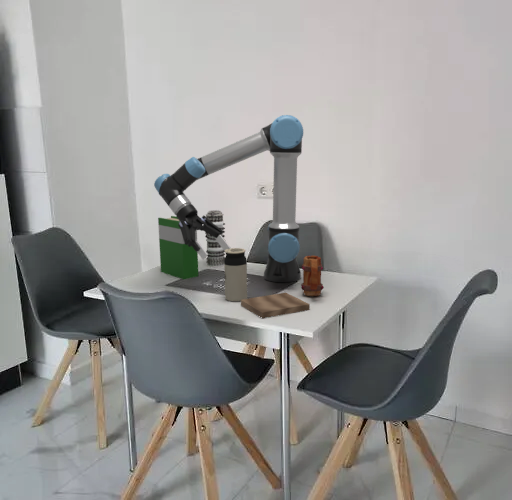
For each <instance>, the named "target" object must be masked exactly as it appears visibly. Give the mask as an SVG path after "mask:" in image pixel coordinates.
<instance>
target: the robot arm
mask: <svg viewBox="0 0 512 500" xmlns="http://www.w3.org/2000/svg"><path fill="white" fill-rule="evenodd" d="M303 137H304V127H303V124H302V122H301V121H300V120H299V119H298V118H297V117H295V116H294V115H290V114H284V115H280V116H277V117H276V118H275V119H274V120H273V122H272V123H269V124H268V125H265V126H264V127H262V128H261V129H260V131H259V132H257V133H254V134H252V135H250V136H247V137H245V138H243V139H240V140H239V141H236V142H234V143H231V144H229V145H227V146H224V147H222V148H219V149H217V150H215V151H213V152H210V153H207V154H205V155H203V156H202V157H199V158H197V157H195V156H192V157H190V158H189V159H188V160H186V161H185V162H184V163H183V164H182V165H181V166H180V167H179V168H178V169H177V170H175V172H174V173H172V174H169V173H163V174H161V176H158V177H157V178H156V179H155V181H154V183H153V184H154V186H153V187H154V188H155V190H156V191H157V193H158V195H159V196H160V197H161V199H162V200H163V201H164V202H165V204H166V205H167V206H168V207H169V209H170V210H171V211H172V213H173V214H174V215H175V216H176V217H177V218H178V219H179V221H180V223H179V224H178V226H179V227H180V229H181V232H182V236H183V239H184V243H185V244H186V245H188V246H189V247H191V246H192V247H193V248H194V249H195V251H196V252H197V253H198V256H199V257H200V258H201V259H202V260H205V259H206V258H207V257H208V256H207V255H208V254H207V252H206V251H207V250H205V248H204V247H203V246H202V244H201V243H200V242H199V240H197V241H196V242H195V231H196V230H197V231H201V232H202V231H203V232H204V233H205V232H206V233H208V234H210V235H212V236H214V237H215V238H216V241H217V242H218V243H219V245H220V246H221V247H222V249H223V250H224V251H225V250H226V249H230V248H231V246H230V245H229V243H228V242H227V241H226V239H225V237H224V238H223V237H222V233H223V231H224V230H223V231H222V230H221V229H220V228H219V227H217V226H216V225H215V224H213V223H212V222H211V221H209V220H208V219H207V218H206V215H205V214H204V215H202V216H201V217H200V216H199V215H198V214H199V213H198V210H197V208H196V207H195V206H194V204H192V202H191V201H190V199H189V198H188V197H187V195H186V194H185V192H184V191H186V190H187V189H188V188H189V187H191V185H193V184H194V183H195V182H197V181H198V180H200V179H203V178H205V177H207V176H209V175H211V174H214V173H217V172H219V171H221V170H223V169H226V168H228V167H231V166H233V165H235V164H237V163H240V162H242V161H245V160H247V159H249V158H252V157H254V156H257V155H260V154H262V153H264V152H266V151H269V153H270V155H272V157H273V186H272V187H273V189H272V190H273V192H272V195H273V196H272V222H270V223H269V224H268V226H267V243H268V244H267V262H266V266H265V270H264V273H263V274H264V275H263V278H264V280H266V281H268V282H273V283H292V282H297V281H299V280H301V278H302V277H301V275H302V273H301V269H300V266H299V262H298V260H297V256H298V255H299V253H300V250H301V245H300V225H299V224H298V223H297V222H296V219H297V218H296V216H297V215H296V214H297V213H296V212H297V209H296V208H297V183H298V182H297V180H298V179H297V175H298V173H297V172H298V157H299V156H300V155H302V149H303V148H302V146H303V145H302V144H303ZM223 234H224V233H223Z"/></svg>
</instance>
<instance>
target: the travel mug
mask: <svg viewBox="0 0 512 500" xmlns="http://www.w3.org/2000/svg"><path fill="white" fill-rule="evenodd" d="M246 251H247V249H245V248H241V247H233V248H230V249H226V250H225V252H224V254H225V256H224V257H225V259H224V266H223V267H224V296H225V300H226V301H228V302H235V303H236V302H241V300H243V299H248V272H247V271H248V269H247V267H248V265H247V263H248V262H247V260H248V259H247V257H246V256H245V254H246Z"/></svg>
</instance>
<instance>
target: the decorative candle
mask: <svg viewBox="0 0 512 500" xmlns="http://www.w3.org/2000/svg"><path fill="white" fill-rule="evenodd" d="M205 216H206V218H207V219H208V220H209V221H211V222H212V223H213V224H215V225H216V226H217V227H219V228H220V229H221V230H222V231H223V233H222V237H223V238H224V239H225V237H226V236H225V235H224V234H225V232H226V231H225V229H226V227H224V226H225V225H226V223H224V217H223V216H224V213H223V212H222V211H221V210H217V209H216V210H208V211H207V213H206V214H205ZM204 233H205V236H204V237H205V238H206V239H205V241H206V250H205V251H206V252H207V254H208V255H207V257H206V258H205V259H206V267H208V268H223V267H224V259H225V257H226V253H225V251H224V250H223V249H222V247H221V246H220V245H219V243H218V242H217V241H216V238H215V237H214V236H212V235H210V234H208V233H206V232H205V231H204Z"/></svg>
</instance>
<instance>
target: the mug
mask: <svg viewBox="0 0 512 500" xmlns="http://www.w3.org/2000/svg"><path fill="white" fill-rule="evenodd" d="M323 269H324V267H323V264H322V257H320V256H318V255H306V256H304V257H303V263H302V265H301V270H302V271H303V272H302V273H303V274H302V275H303V282H302V283H301V284H300V286H301V290H302V291H303V295H304V296H306V297H319V296H321V294H322V290H323V289H325V287H324V285H323V283H322V271H323Z"/></svg>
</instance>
